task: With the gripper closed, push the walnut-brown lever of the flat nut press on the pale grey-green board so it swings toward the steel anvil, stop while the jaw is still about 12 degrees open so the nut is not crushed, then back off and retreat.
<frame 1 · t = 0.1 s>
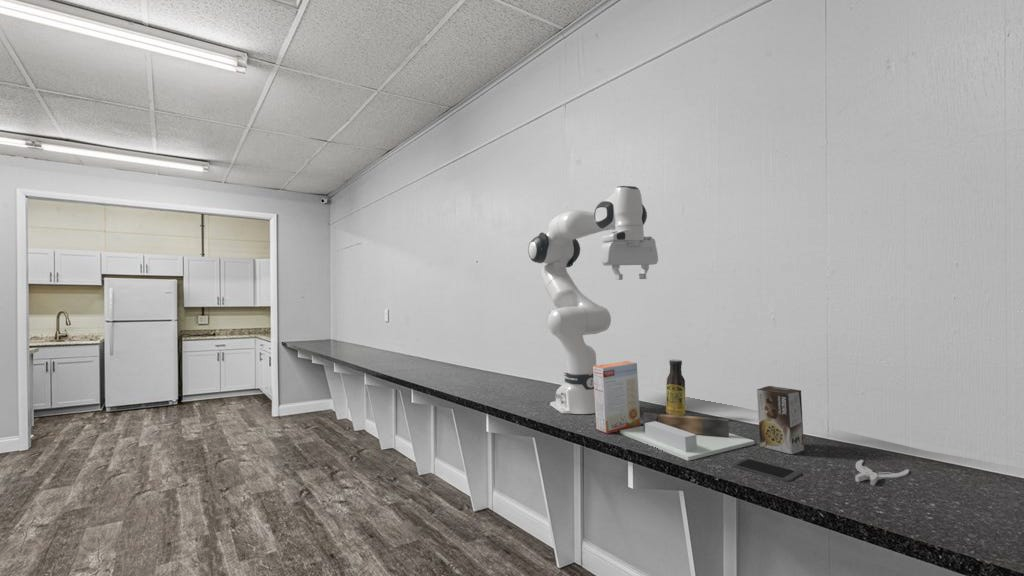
hand: (631, 279, 154), 48 cm above the countertop, fingers open, 8 cm apart
cell phone: (765, 472, 117), on the countertop
lever: (684, 424, 145), point 4 cm above the countertop, hinge at 40.0°
pliers: (874, 476, 112), on the countertop
cracker box: (618, 429, 156), on the countertop
sauce bottle: (676, 418, 166), on the countertop
coffee box: (781, 449, 132), on the countertop
press board: (651, 433, 149), on the countertop
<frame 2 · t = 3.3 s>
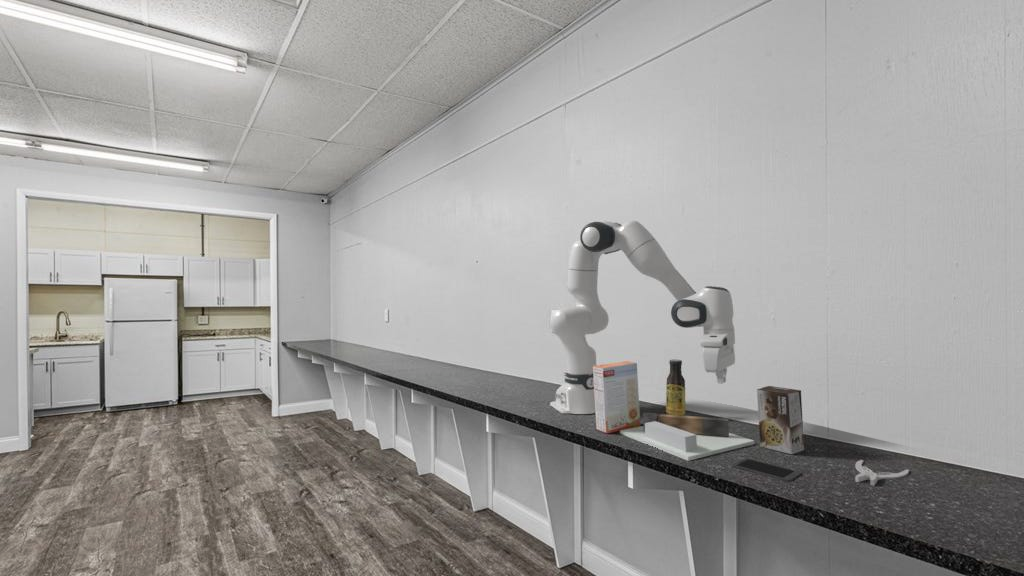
hand: (721, 382, 150), 15 cm above the countertop, fingers closed
nothing on the countertop moved.
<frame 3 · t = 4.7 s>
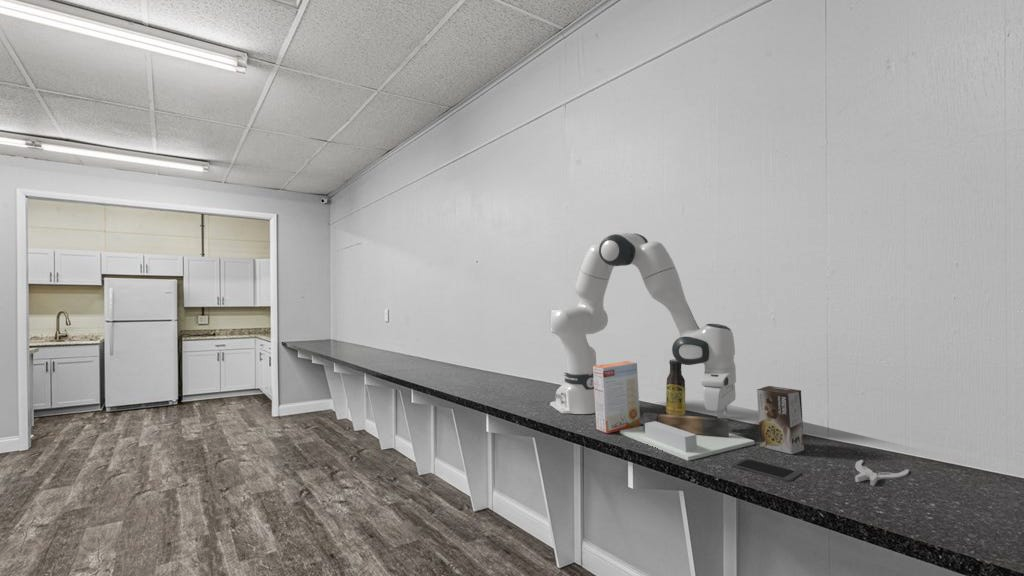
hand: (722, 420, 150), 3 cm above the countertop, fingers closed
nothing on the countertop moved.
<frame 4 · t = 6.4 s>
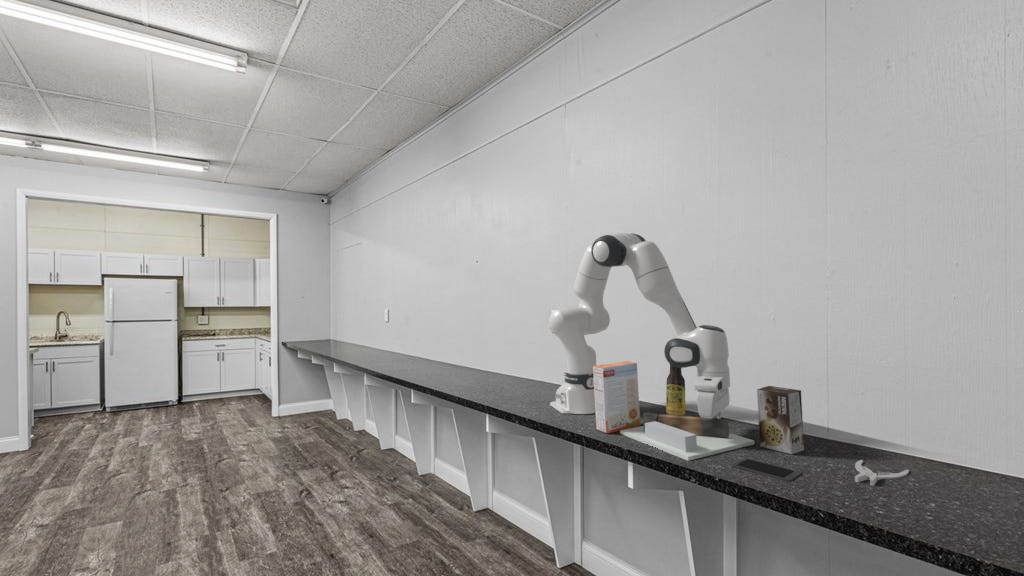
hand: (715, 426, 144), 3 cm above the countertop, fingers closed
lever: (684, 424, 145), point 4 cm above the countertop, hinge at 37.3°, touching gripper
everything else where it was.
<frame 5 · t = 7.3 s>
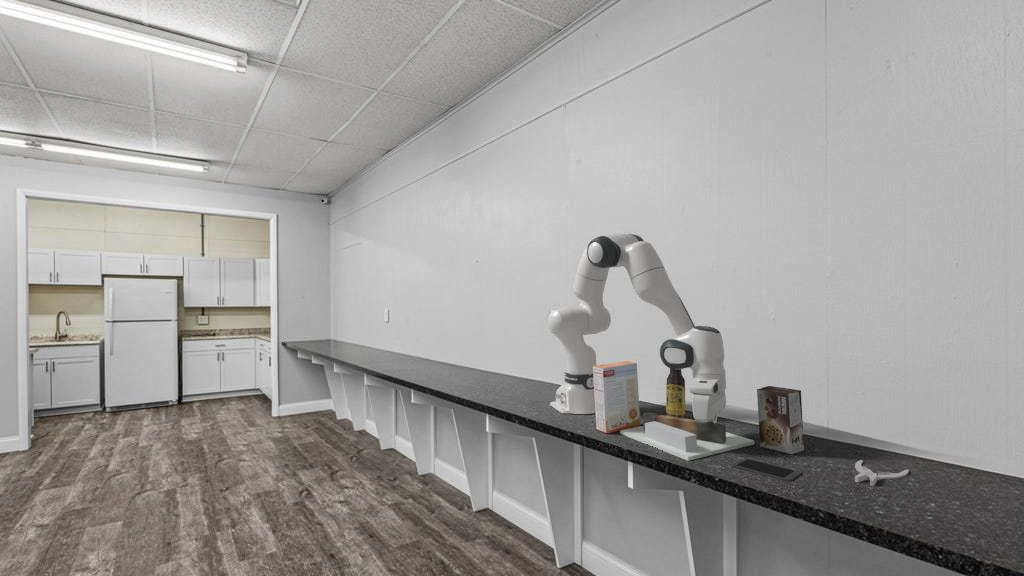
hand: (712, 430, 140), 3 cm above the countertop, fingers closed
lever: (681, 426, 143), point 4 cm above the countertop, hinge at 22.1°, touching gripper
everything else where it was.
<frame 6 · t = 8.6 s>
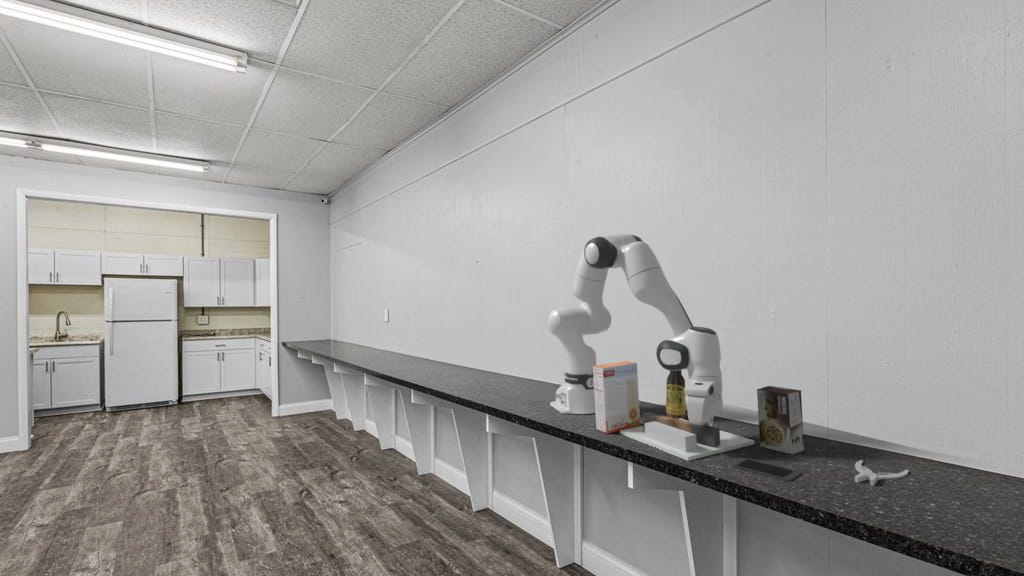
hand: (707, 432, 138), 3 cm above the countertop, fingers closed
lever: (678, 428, 142), point 4 cm above the countertop, hinge at 11.4°, touching gripper
everything else where it was.
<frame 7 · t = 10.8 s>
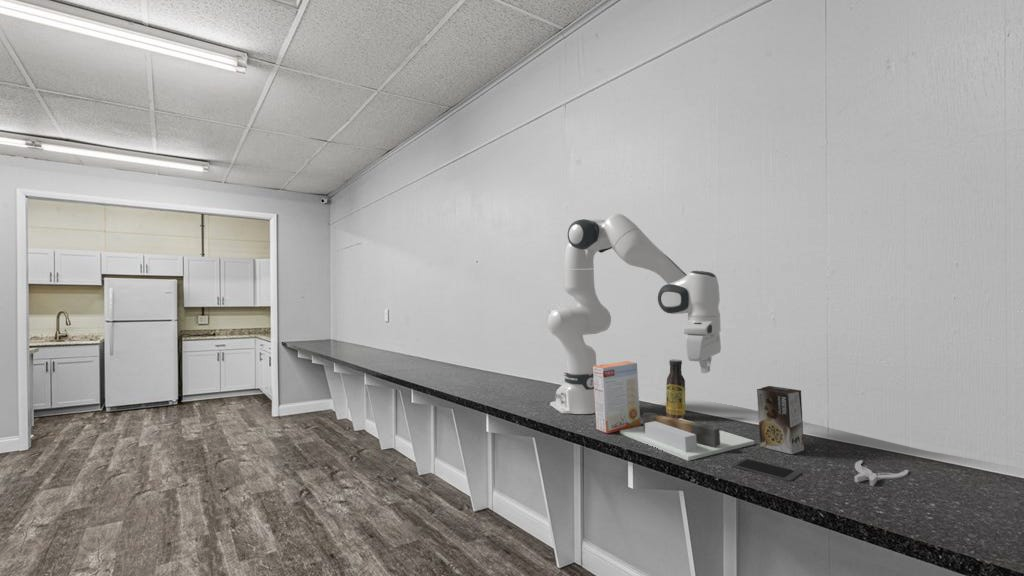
hand: (705, 372, 143), 19 cm above the countertop, fingers closed
lever: (678, 428, 142), point 4 cm above the countertop, hinge at 11.2°
everything else where it was.
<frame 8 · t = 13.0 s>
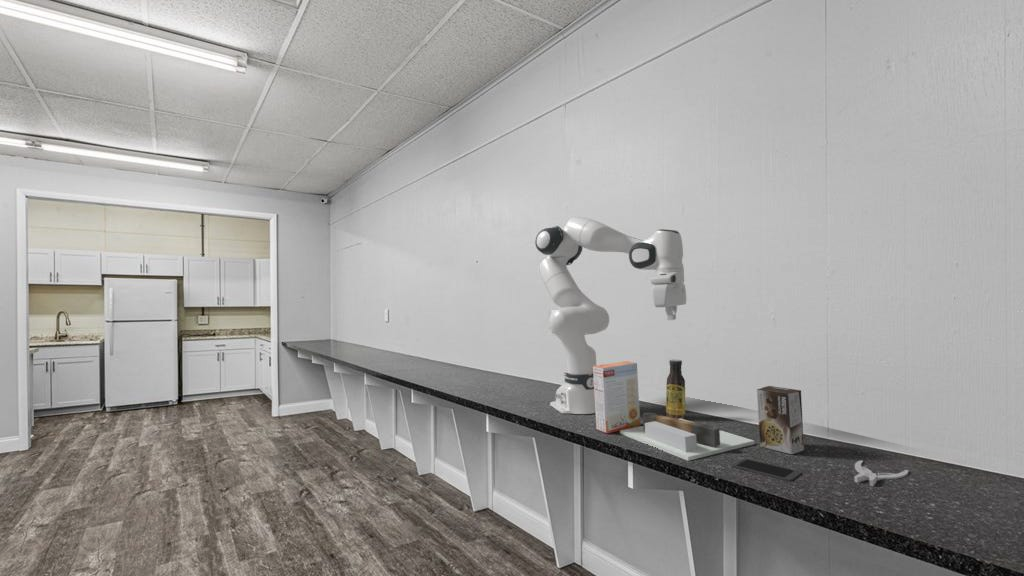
hand: (671, 319, 159), 34 cm above the countertop, fingers closed
nothing on the countertop moved.
at the end: lever at +11° (first picture: +40°) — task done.
